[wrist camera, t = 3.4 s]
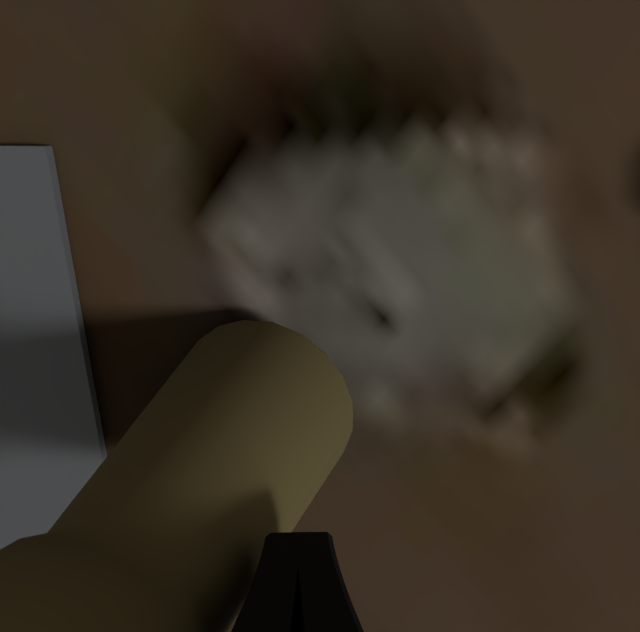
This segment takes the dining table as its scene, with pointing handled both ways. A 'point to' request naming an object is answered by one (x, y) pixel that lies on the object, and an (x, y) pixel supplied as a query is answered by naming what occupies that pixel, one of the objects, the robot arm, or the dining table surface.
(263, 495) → the cork
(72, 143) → the dining table surface
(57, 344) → the mat
